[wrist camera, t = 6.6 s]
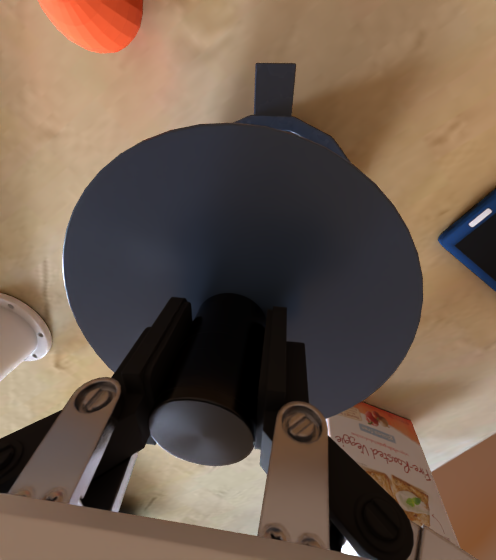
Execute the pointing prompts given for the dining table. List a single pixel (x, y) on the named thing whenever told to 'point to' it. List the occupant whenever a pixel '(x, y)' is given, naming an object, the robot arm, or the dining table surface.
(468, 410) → the dining table surface
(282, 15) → the dining table surface
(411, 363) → the dining table surface
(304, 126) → the pot
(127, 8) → the clementine
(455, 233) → the cell phone
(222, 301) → the lid
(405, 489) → the cracker box
